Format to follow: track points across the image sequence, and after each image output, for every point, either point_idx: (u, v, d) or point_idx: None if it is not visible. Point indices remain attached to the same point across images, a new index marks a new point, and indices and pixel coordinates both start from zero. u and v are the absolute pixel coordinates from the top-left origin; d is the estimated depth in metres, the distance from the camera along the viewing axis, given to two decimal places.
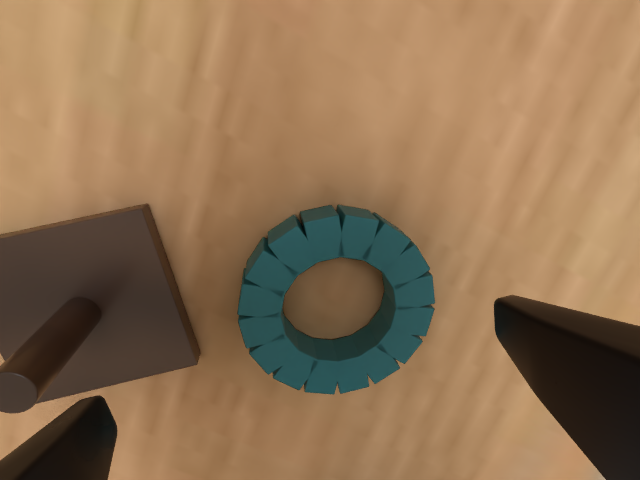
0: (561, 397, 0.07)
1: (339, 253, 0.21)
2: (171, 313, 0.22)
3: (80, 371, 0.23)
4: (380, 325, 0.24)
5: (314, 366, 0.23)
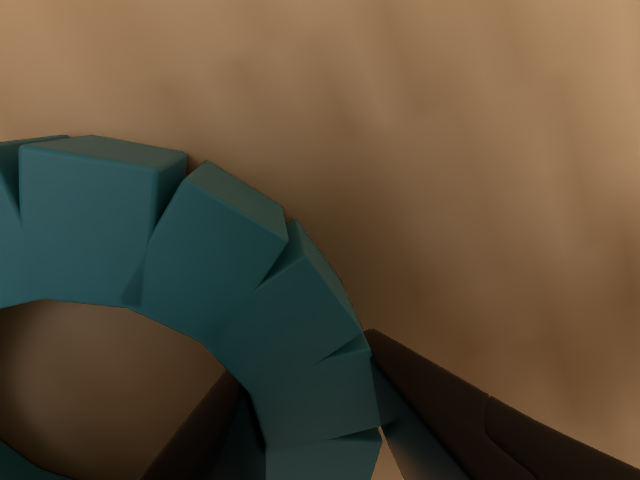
0: (394, 441, 0.07)
1: None
2: None
3: None
4: None
5: None
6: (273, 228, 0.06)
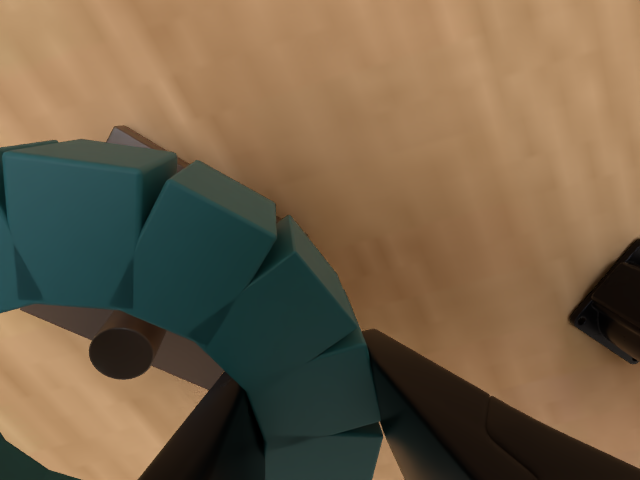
0: (395, 441, 0.07)
1: None
2: None
3: None
4: None
5: None
6: (261, 225, 0.06)
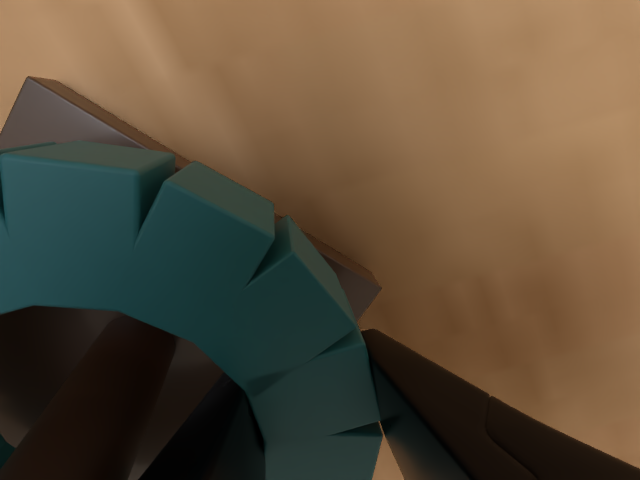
0: (395, 441, 0.07)
1: None
2: None
3: None
4: None
5: None
6: (258, 225, 0.06)
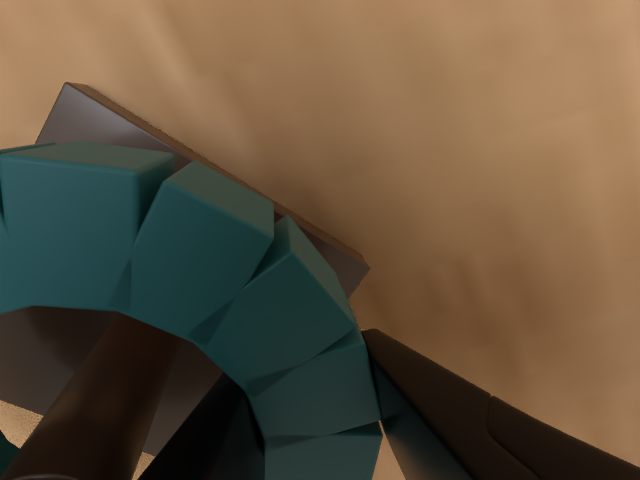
0: (396, 440, 0.07)
1: None
2: None
3: None
4: None
5: None
6: (258, 225, 0.06)
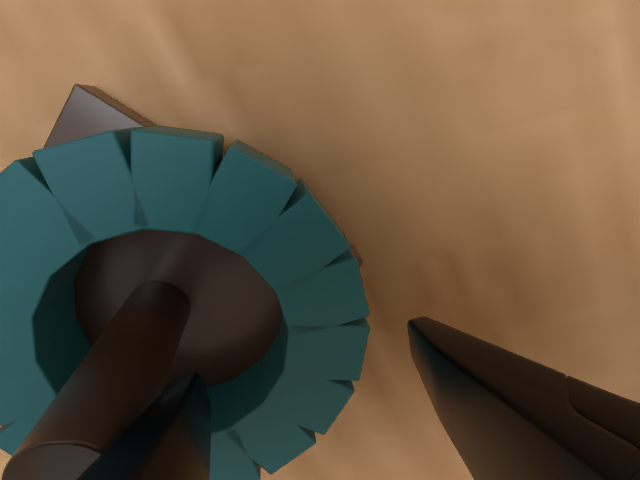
0: (456, 425, 0.07)
1: (39, 273, 0.10)
2: None
3: None
4: None
5: (237, 439, 0.12)
6: (286, 176, 0.10)
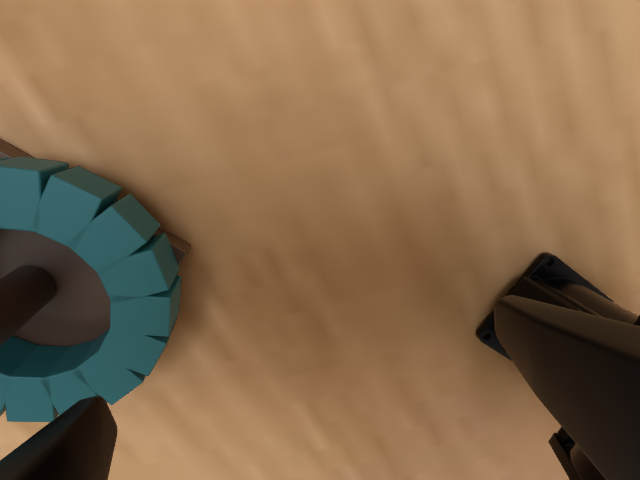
0: (561, 397, 0.07)
1: None
2: None
3: None
4: None
5: (82, 377, 0.17)
6: (94, 194, 0.15)
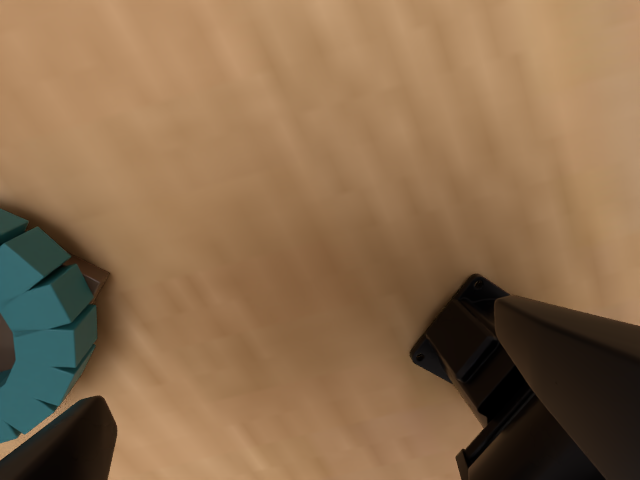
0: (561, 397, 0.07)
1: None
2: None
3: None
4: None
5: None
6: None
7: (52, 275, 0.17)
